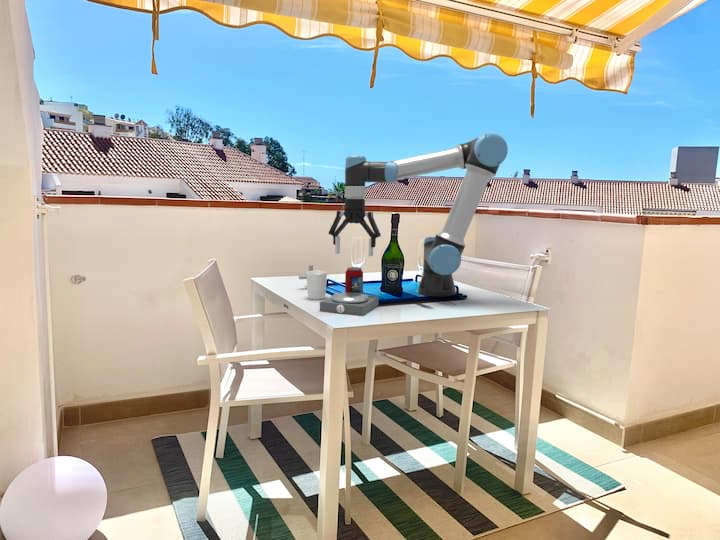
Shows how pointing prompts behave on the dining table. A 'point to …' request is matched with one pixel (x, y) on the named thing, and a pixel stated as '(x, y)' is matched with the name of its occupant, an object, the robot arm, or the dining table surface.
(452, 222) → the robot arm
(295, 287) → the dining table surface
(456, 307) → the dining table surface
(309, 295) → the white cup
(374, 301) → the scale
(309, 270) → the pipe connector
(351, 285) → the beverage can
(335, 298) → the platter
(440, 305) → the dining table surface
